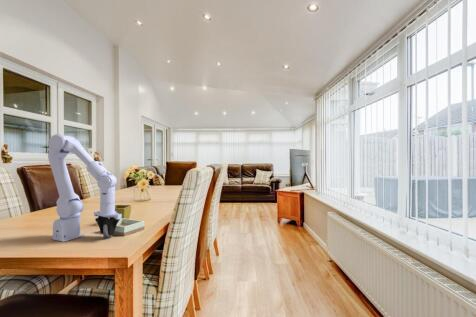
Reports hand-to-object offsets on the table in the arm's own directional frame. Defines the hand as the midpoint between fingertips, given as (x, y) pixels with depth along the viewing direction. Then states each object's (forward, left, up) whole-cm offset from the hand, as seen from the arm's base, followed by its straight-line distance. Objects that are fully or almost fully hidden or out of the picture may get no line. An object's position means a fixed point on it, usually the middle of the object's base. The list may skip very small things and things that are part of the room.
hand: (107, 234), depth 113 cm
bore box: (+10, +2, -1) cm, 11 cm away
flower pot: (+20, +14, -2) cm, 24 cm away
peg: (0, 0, -1) cm, 1 cm away
